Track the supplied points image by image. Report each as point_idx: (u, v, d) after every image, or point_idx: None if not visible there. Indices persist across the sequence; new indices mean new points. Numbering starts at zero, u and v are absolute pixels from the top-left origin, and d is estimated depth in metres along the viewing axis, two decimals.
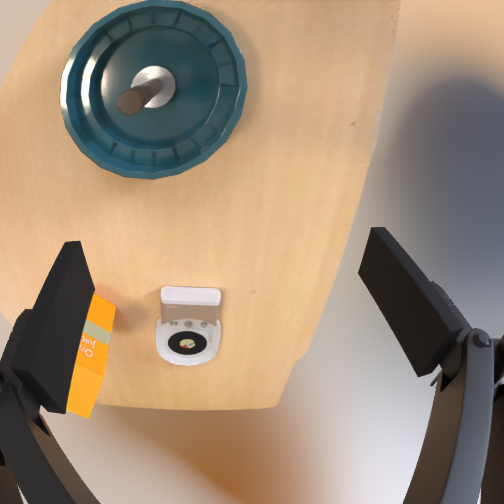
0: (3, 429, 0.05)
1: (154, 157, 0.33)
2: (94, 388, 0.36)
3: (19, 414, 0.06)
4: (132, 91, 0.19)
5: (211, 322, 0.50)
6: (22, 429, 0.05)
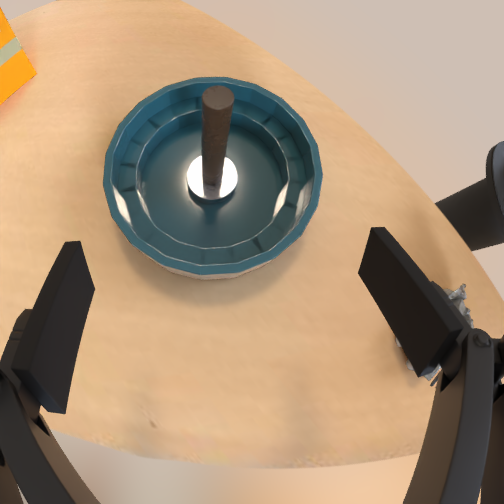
0: (3, 429, 0.05)
1: (129, 165, 0.28)
2: None
3: (19, 414, 0.06)
4: (231, 101, 0.17)
5: None
6: (22, 429, 0.05)
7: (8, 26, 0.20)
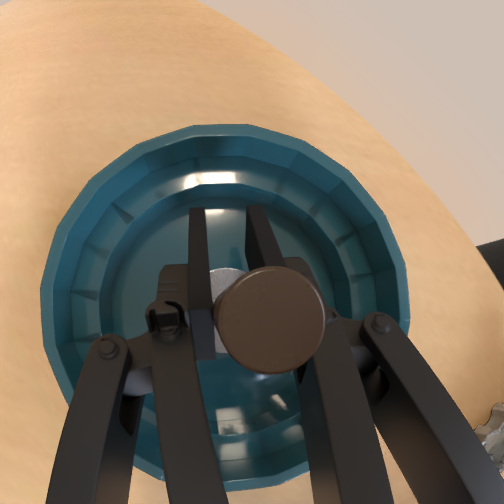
0: (166, 374, 0.07)
1: (85, 294, 0.16)
2: None
3: (192, 366, 0.08)
4: (319, 337, 0.06)
5: None
6: (190, 381, 0.07)
7: None
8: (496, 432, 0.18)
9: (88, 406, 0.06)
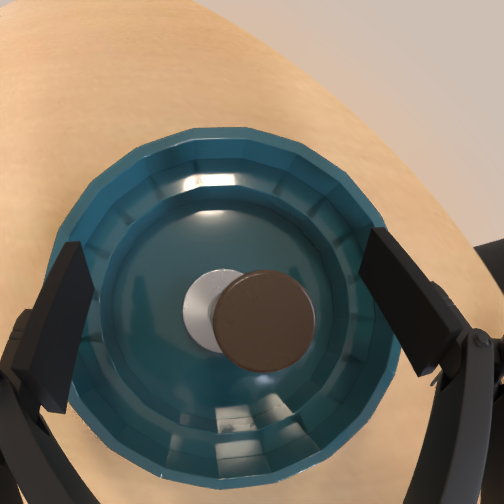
0: (3, 429, 0.05)
1: None
2: None
3: (19, 414, 0.06)
4: (309, 338, 0.06)
5: None
6: (22, 429, 0.05)
7: None
8: None
9: None
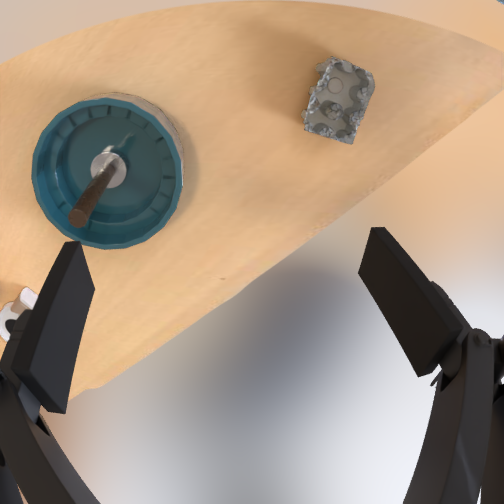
0: (3, 429, 0.05)
1: None
2: None
3: (19, 414, 0.06)
4: (83, 214, 0.26)
5: None
6: (22, 429, 0.05)
7: None
8: (317, 90, 0.33)
9: None
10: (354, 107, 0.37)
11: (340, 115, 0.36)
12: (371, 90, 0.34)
